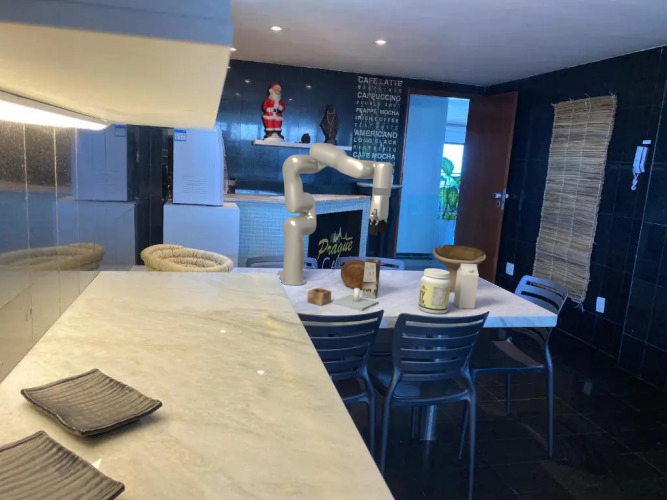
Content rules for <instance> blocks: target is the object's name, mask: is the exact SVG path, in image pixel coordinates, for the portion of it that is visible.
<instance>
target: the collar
mask: <svg viewBox="0 0 667 500" xmlns="http://www.w3.org/2000/svg"><path fill="white" fill-rule="evenodd" d="M332 292H333V291H332V290H330V289H329V290H328V289H325V288H320V287H316V288H313V289H311V290H307V303H309V304H312V305H317V306H319V307H322V306H325V305H327V304H331V302H332Z"/></svg>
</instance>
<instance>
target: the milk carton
mask: <svg viewBox="0 0 667 500" xmlns="http://www.w3.org/2000/svg"><path fill="white" fill-rule="evenodd" d="M478 270H479V269H478V266H477V264H461V266H460V267H459V269H458V270H457V277H456V286H455V292H454V295H453V304H454V305H455V307H456V308H458V309H470V310H473V309H475V308H476V299H477V292H478V284H479V275H480V274H479V271H478Z"/></svg>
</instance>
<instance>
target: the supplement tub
mask: <svg viewBox="0 0 667 500" xmlns="http://www.w3.org/2000/svg"><path fill="white" fill-rule="evenodd" d="M423 271H424V272H423V275H422V276H421V278H420V285H419V286H420V287H419V295H418V305H417V306H418V308H419V309H418V310H420V311H422V312H424V313H428V314H432V315H442V314H445V313H447V312H448V310H449V303H450V302H449V301H450V293H451V292H450V286H451V281H450V279H449V277H450V275H449V274H450V273H449V272H448V271H447V269H446V270H445V269H442V268H433V267H432V268H425V269H424V270H423Z"/></svg>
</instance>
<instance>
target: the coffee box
mask: <svg viewBox="0 0 667 500" xmlns="http://www.w3.org/2000/svg"><path fill="white" fill-rule="evenodd" d="M381 261H382V259H379V258H366V260H365V261H364V262H365V269H364V280H363V290H361V291H362V292H361V293H362V294H361V297H362V298H366V299H373V300H375V299H376V298H377V296H378V295H379V286H380V276H381V275H380V273H381V272H380V271H381Z"/></svg>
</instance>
